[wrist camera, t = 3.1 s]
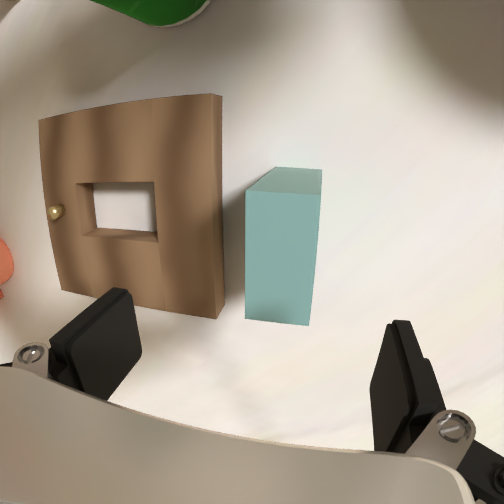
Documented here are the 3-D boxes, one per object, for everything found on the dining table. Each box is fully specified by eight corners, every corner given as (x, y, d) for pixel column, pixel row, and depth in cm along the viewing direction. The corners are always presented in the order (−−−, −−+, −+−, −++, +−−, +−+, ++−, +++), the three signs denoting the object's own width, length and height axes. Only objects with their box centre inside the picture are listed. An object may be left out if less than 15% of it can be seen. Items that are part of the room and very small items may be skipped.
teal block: (322, 169, 24) (320, 195, 14) (316, 256, 26) (308, 325, 17) (275, 166, 24) (245, 190, 15) (273, 252, 27) (245, 318, 18)
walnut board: (222, 96, 23) (203, 91, 19) (224, 304, 30) (210, 328, 26) (55, 118, 26) (27, 121, 23) (75, 280, 33) (53, 296, 29)
